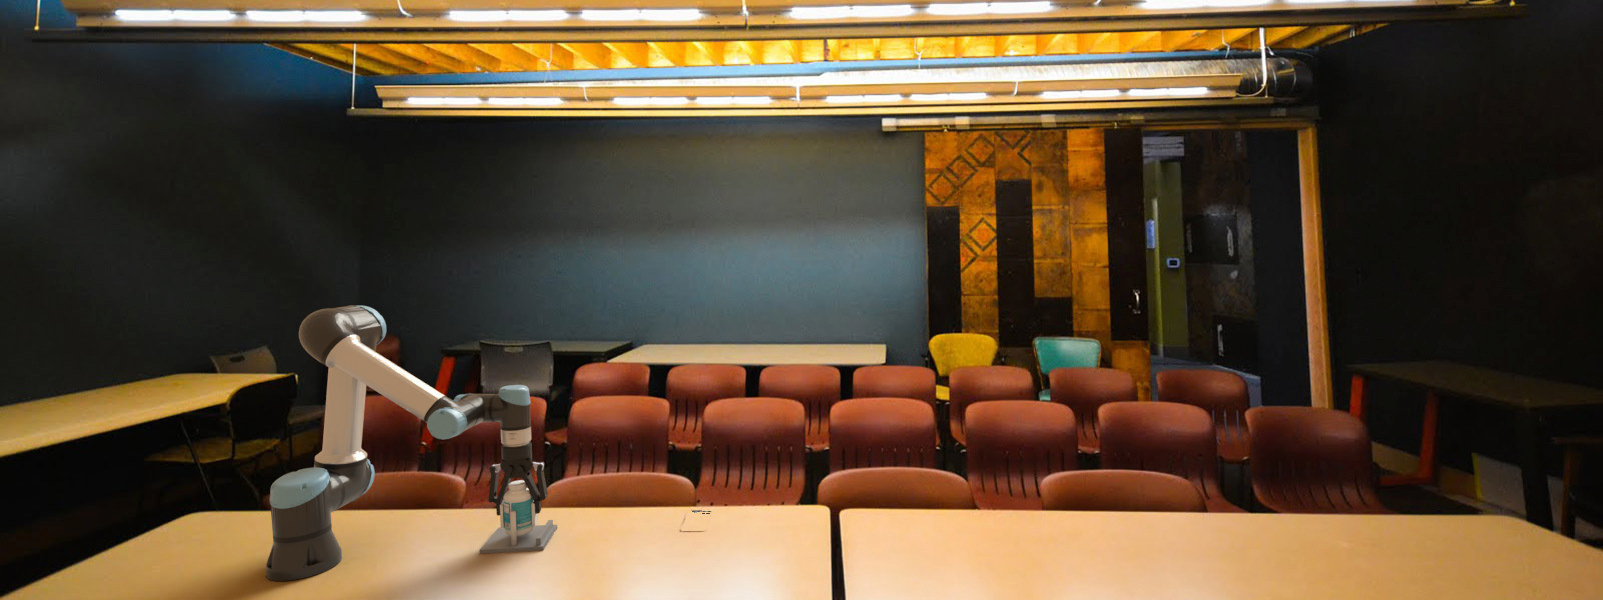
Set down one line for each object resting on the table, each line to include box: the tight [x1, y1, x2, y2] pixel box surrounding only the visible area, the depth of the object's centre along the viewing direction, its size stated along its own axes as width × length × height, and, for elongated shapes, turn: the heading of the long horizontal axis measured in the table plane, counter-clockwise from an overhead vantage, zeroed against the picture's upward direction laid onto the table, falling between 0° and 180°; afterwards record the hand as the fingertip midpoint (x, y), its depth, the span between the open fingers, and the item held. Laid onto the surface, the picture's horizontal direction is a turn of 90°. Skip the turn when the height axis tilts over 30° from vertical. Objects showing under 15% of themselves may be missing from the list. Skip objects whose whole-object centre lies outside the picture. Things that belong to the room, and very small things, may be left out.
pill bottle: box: [503, 479, 534, 536], centre depth 176 cm, size 8×7×14 cm
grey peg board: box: [479, 511, 558, 554], centre depth 176 cm, size 16×14×10 cm
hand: (519, 525), depth 176 cm, fingers closed on pill bottle, 7 cm apart
